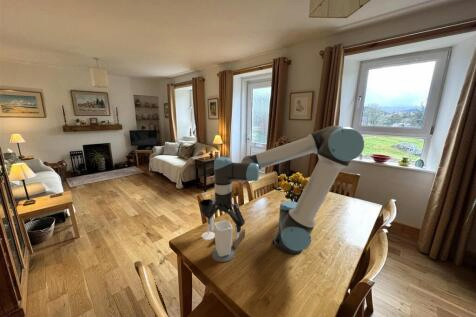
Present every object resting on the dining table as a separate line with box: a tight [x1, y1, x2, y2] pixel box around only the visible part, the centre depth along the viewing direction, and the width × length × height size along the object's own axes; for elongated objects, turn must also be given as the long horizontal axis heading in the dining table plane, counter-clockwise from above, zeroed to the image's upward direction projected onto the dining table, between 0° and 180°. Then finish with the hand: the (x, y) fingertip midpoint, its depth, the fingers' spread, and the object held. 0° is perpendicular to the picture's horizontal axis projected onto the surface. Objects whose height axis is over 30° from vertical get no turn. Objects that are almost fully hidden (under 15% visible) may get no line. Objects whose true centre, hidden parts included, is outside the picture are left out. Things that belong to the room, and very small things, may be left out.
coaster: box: [211, 247, 235, 263], centre depth 92 cm, size 11×11×1 cm
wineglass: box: [199, 198, 217, 241], centre depth 104 cm, size 8×9×20 cm
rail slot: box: [232, 228, 246, 251], centre depth 102 cm, size 12×12×4 cm
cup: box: [214, 220, 233, 257], centre depth 90 cm, size 7×7×15 cm
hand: (224, 233), depth 90 cm, fingers open, 13 cm apart
